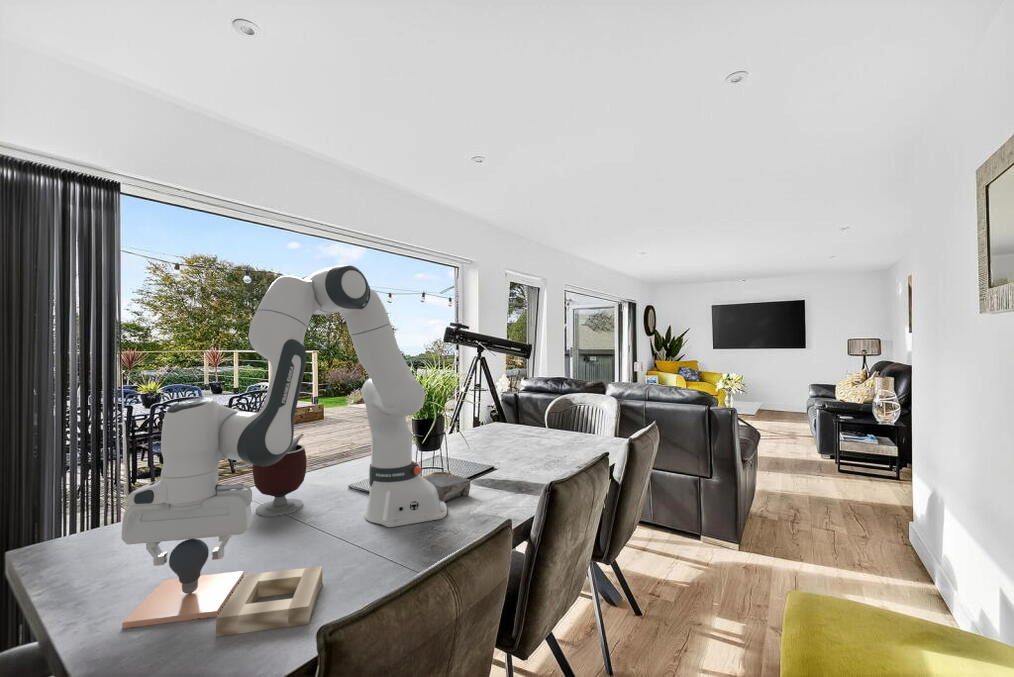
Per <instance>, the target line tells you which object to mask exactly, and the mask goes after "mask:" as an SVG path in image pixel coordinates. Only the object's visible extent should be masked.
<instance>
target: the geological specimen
mask: <svg viewBox="0 0 1014 677" xmlns="http://www.w3.org/2000/svg"><path fill="white" fill-rule="evenodd" d="M422 477H423V478H425V479H426V480H427V481H429V482H430V483H432V484H433V485H434V486H435V487H436V489H437V492H438V495H439V500H441V501H443V502H446V501H449V500H451V499H453V498H455V497H456V498H457V497H460V496H463V497H467V496H466V495H468V496H470V491H471V483H472V480H471V479H469V478H466V477H464V476H459V475H455V474H452V473H451V472H447V471H446V472H445V471H434V472H432V473H431V474H428V475H423V476H422Z"/></svg>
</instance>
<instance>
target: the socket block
mask: <svg viewBox="0 0 1014 677" xmlns="http://www.w3.org/2000/svg"><path fill="white" fill-rule="evenodd" d="M322 583H323V565H321V566H314V567H313V566H311V567H305V568H293V569H286V570H276V571H268V572H267V571H266V572H257V573H249V574H244V576H243V578H242V579H241V581H240V582H239V584H238V585H237V587H236V588H235V590H234V591H233V593H232V594H231V596H230V597H229V599H228V600H227V602H226V603H225V605H224V606H223V608H222V609H221V611H220V612H219V614H218V615H217V617H215V637H216V638H217V637H223V636H230V635H231V636H232V635H238V634H246V633H252V632H261V631H268V630H274V629H275V630H277V629H283V628H288V627H289V628H290V627H296V626H305V625H310V622H311V618H312V615H311V614H313V612H312V611H314V608H315V605H316V601H317V598H318V597H319V596H318V595H319V592H320V590H321V586H322ZM288 594H294V595H293V597H292V598H285V599H277V600H269V601H261V602H260V601H259V602H257V600H258V598H264V597H273V596H280V595H281V596H282V595H288ZM310 617H311V618H310Z"/></svg>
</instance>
